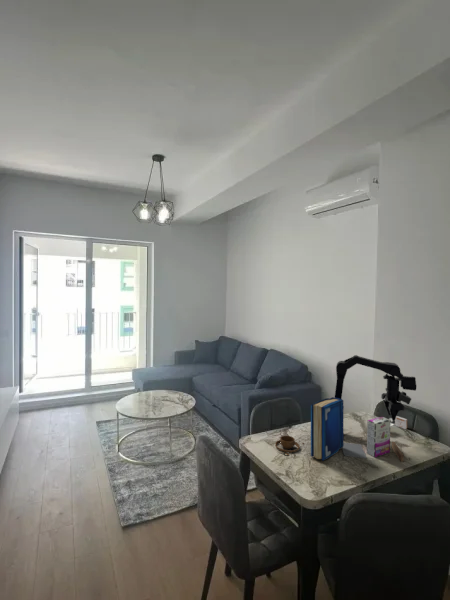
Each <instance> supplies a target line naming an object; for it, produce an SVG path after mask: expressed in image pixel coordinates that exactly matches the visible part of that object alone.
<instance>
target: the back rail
mask: <svg viewBox="0 0 450 600" xmlns="http://www.w3.org/2000/svg"><path fill="white" fill-rule="evenodd" d="M391 448H392V450H393V451H394V453H395V455H396V457H397V459H398V460H399V461H400V462H401V463H402V462H404V460H405V459H404V454H403V452H402V451H401V449H400V448H399V446H398V445H397V443H396V442H395V441H392V442H391Z"/></svg>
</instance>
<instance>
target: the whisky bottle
mask: <svg viewBox="0 0 450 600" xmlns="http://www.w3.org/2000/svg"><path fill="white" fill-rule="evenodd" d="M389 419H390V420H391V422H390V428H391V427H392V426H396V427H398V428H401V429H404V430H407V429H408V419H407V418H404V417H402V416H398V415H397V416H396V419H395V420H392V417H389ZM393 421H394V423H393Z"/></svg>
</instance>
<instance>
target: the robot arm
mask: <svg viewBox="0 0 450 600" xmlns="http://www.w3.org/2000/svg"><path fill="white" fill-rule="evenodd" d="M356 365H360V366H365V367H368V368H372V369H376V370H378V371H382V372H383V373H386V374H384V375H383V376H382V378H383V379H384V380H386V387H385V391H386V393H385V392H384V393H382V394H381V397H380V398H381V400H382V402H383V404H384V407H385V409H386V412H387V415H388V416H390V418H392V420H393V421H395V419H396V416H398V414H399V412H400V411H405V405H404V404H402V402H403V403H405V404H407V405H410V403H411V402H412V398H411V397H410V396H409V395H407V392H405V391H417V381H416V377H415V376H407V375H406V376H405V375H403V373H402V372H401V368H400V367H399V365H398V364H397V363H395V362H387V361H384V362H382V361H378V360H374V359H370V358H367V357H363V356H359V355H357V354H356V355H353V356H351V357H349V358H347V359H344V360H339V361H338V362H337V363H336V366H335V370H336V384H335V391H334V398H340V399H342V397H343V390H344V381H345V377H346V374H347V373H348V372H347V371H348V370H349V369H350V368H353V367H354V366H356ZM400 388H402V390H405V391H400ZM344 407H345V406H344V405H343V411H344V409H345V408H344Z"/></svg>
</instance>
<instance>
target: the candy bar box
mask: <svg viewBox="0 0 450 600" xmlns="http://www.w3.org/2000/svg"><path fill="white" fill-rule="evenodd" d="M390 423H392V422H391V420H390V418H387V417H384V416H379V417H375V418H372V419H371V418H370V419H368V420H367V424H366V426H367V427H366V434H367V435H366V454H367V455H368V456H371V457H373V458H377V457H380V456H383V455H387V454H390V453H391V448H390V447H391V427H390Z"/></svg>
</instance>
